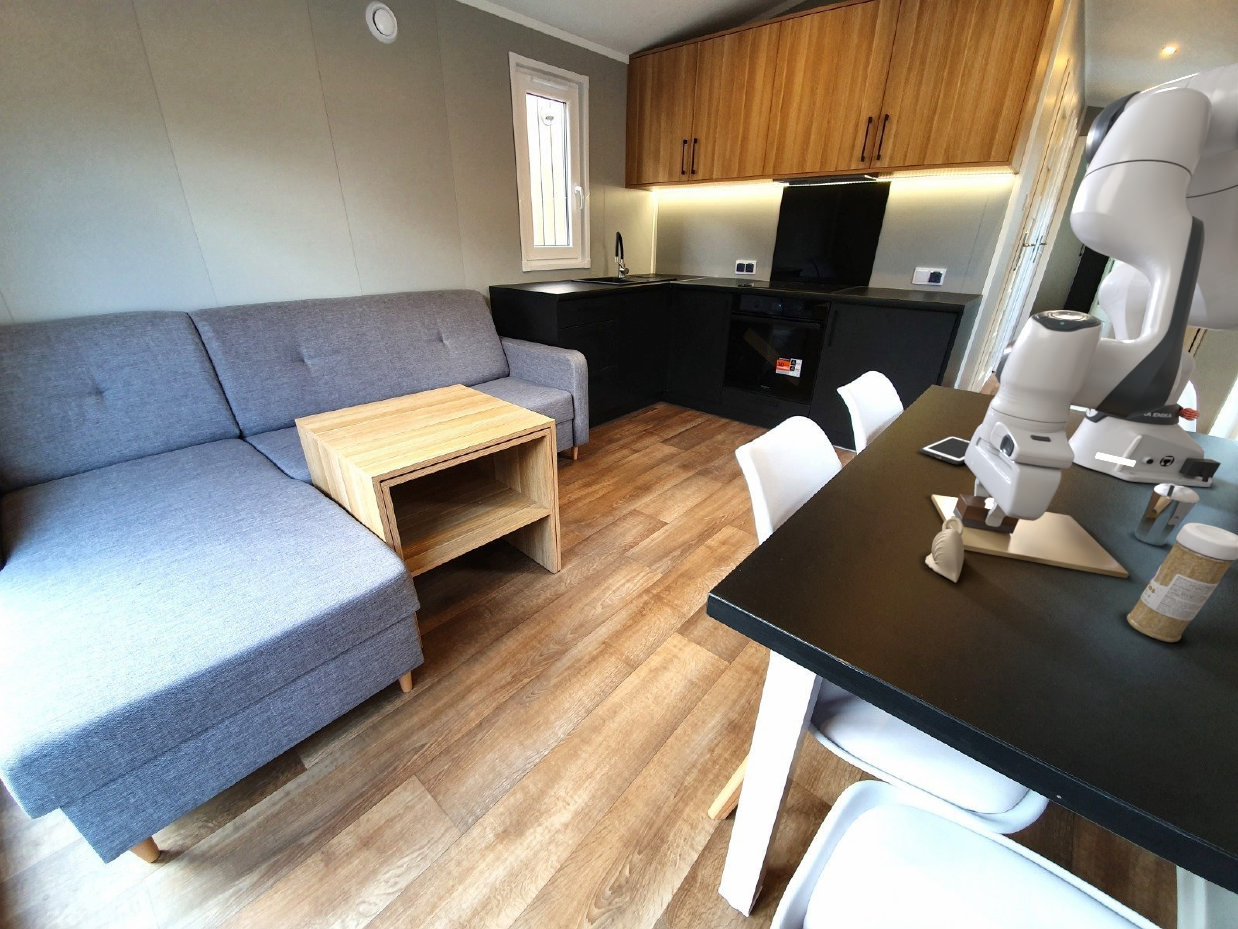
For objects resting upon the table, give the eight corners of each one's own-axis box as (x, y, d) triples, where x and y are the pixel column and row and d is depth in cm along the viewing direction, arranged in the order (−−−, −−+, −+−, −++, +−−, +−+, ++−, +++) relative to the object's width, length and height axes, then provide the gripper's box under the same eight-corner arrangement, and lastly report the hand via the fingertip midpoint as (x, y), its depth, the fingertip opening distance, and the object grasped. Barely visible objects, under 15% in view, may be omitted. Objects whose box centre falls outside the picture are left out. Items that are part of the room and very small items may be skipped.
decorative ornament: (920, 570, 66) (932, 537, 64) (933, 544, 72) (944, 513, 69) (955, 584, 64) (969, 550, 61) (965, 556, 69) (978, 524, 67)
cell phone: (918, 452, 103) (919, 448, 102) (950, 439, 111) (952, 435, 110) (957, 466, 97) (959, 461, 97) (989, 451, 105) (990, 446, 104)
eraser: (1002, 520, 77) (1011, 501, 75) (1012, 534, 73) (1021, 514, 72) (952, 512, 78) (959, 493, 77) (959, 524, 75) (967, 505, 73)
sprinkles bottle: (1125, 610, 60) (1183, 516, 54) (1178, 630, 57) (1245, 533, 51) (1125, 629, 57) (1186, 532, 51) (1181, 651, 54) (1252, 550, 48)
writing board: (1067, 519, 80) (1070, 515, 79) (1126, 578, 66) (1129, 573, 65) (930, 498, 85) (932, 494, 84) (958, 548, 71) (960, 544, 71)
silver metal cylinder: (1119, 536, 76) (1151, 478, 71) (1137, 529, 78) (1170, 473, 73) (1158, 552, 72) (1194, 492, 68) (1176, 544, 74) (1212, 486, 70)
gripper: (970, 406, 79) (943, 482, 85) (1022, 455, 61) (983, 546, 67) (1015, 412, 77) (984, 488, 83) (1082, 463, 60) (1037, 556, 66)
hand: (984, 515), depth 75 cm, fingers closed on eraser, 4 cm apart
